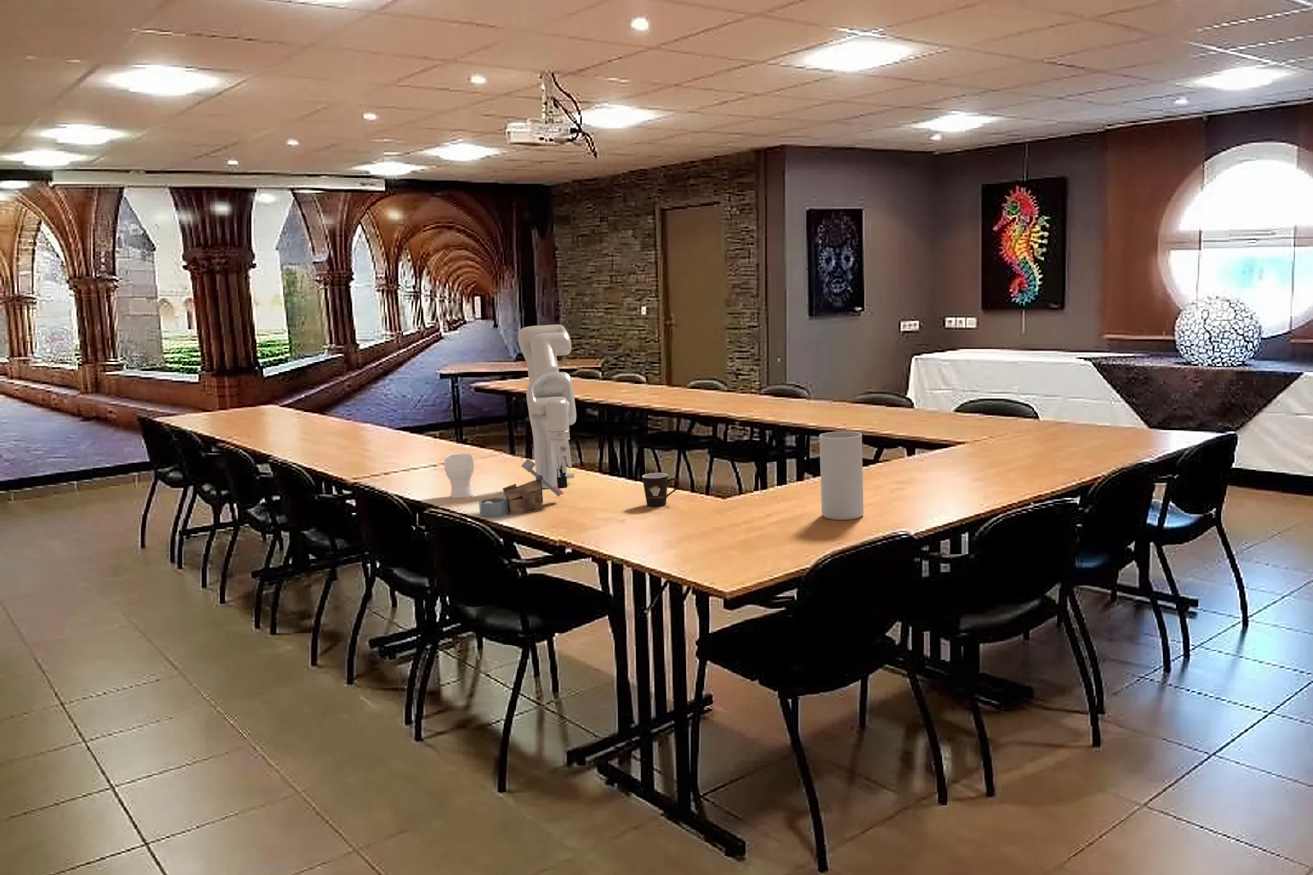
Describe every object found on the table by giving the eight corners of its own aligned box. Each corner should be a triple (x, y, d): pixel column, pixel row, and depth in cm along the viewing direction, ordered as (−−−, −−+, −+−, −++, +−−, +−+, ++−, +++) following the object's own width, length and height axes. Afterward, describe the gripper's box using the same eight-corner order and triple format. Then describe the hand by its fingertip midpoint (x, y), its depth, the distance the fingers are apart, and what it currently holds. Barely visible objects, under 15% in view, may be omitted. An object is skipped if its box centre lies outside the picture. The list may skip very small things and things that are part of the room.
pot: (504, 509, 335) (503, 496, 334) (509, 514, 327) (508, 501, 326) (478, 512, 332) (477, 499, 331) (483, 518, 324) (481, 504, 323)
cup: (469, 499, 355) (466, 458, 353) (442, 499, 357) (438, 458, 355) (480, 492, 365) (477, 453, 363) (454, 493, 368) (450, 453, 365)
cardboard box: (542, 502, 343) (540, 474, 341) (550, 509, 332) (548, 480, 330) (501, 507, 338) (499, 479, 337) (508, 514, 327) (506, 485, 326)
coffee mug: (639, 507, 327) (637, 477, 326) (651, 501, 335) (649, 472, 333) (670, 509, 322) (668, 479, 320) (681, 503, 329) (680, 473, 328)
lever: (556, 496, 343) (563, 489, 344) (564, 502, 333) (571, 495, 333) (520, 465, 338) (527, 458, 338) (527, 470, 327) (533, 462, 328)
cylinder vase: (860, 521, 292) (858, 438, 288) (818, 520, 296) (815, 438, 293) (866, 511, 304) (864, 431, 300) (826, 510, 308) (823, 431, 304)
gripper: (574, 437, 333) (578, 490, 336) (563, 431, 347) (567, 483, 350) (553, 439, 331) (557, 492, 333) (543, 434, 345) (547, 485, 347)
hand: (562, 487), depth 342 cm, fingers closed
